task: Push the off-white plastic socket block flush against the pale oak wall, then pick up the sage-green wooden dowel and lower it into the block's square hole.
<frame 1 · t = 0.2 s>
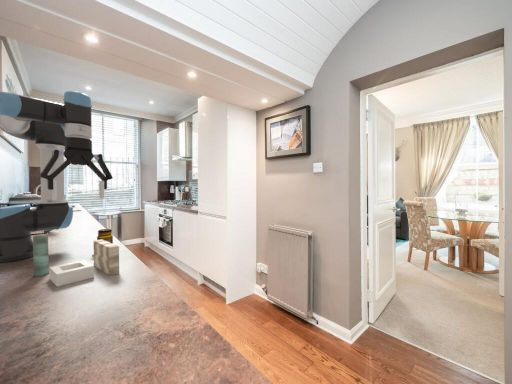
hand: (79, 199, 81), 27 cm above the countertop, tool pointing down, fingers open, 13 cm apart
socket block: (72, 277, 79), on the countertop
wall: (106, 269, 88), on the countertop
dowel: (41, 274, 83), on the countertop
condiment: (103, 256, 105), on the countertop
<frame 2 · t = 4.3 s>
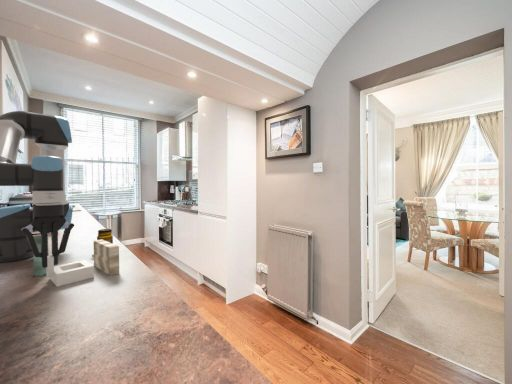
hand: (50, 276, 75), 2 cm above the countertop, tool pointing down, fingers closed
socket block: (72, 277, 79), on the countertop, touching gripper
everything else where it was.
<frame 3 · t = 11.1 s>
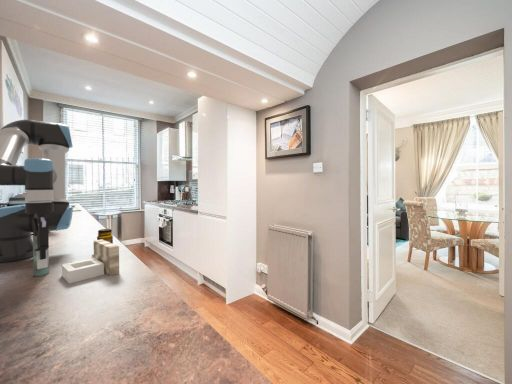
hand: (41, 266, 83), 3 cm above the countertop, tool pointing down, fingers closed on dowel, 4 cm apart
socket block: (83, 275, 82), on the countertop
dowel: (41, 274, 83), on the countertop, touching gripper
everything else where it was.
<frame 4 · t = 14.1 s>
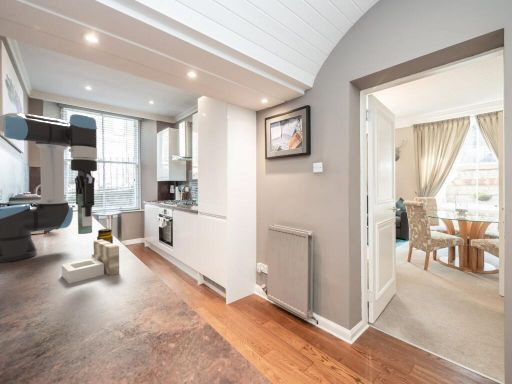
hand: (85, 225, 82), 18 cm above the countertop, tool pointing down, fingers closed on dowel, 4 cm apart
dowel: (85, 232, 82), point 15 cm above the countertop, touching gripper
everything else where it was.
when the fingers open (5 cm above the countertop, at t = 17.1 s): dowel drops 1 cm, resting in socket block.
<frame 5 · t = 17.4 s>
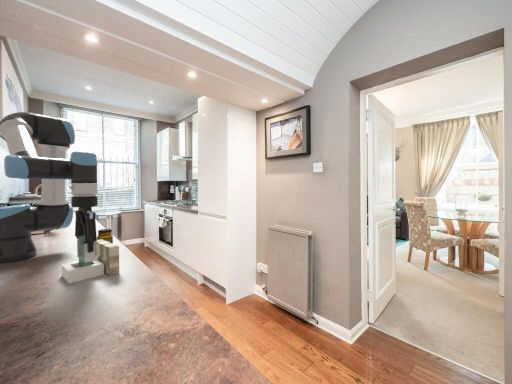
hand: (85, 258, 82), 6 cm above the countertop, tool pointing down, fingers open, 8 cm apart
dowel: (85, 274, 83), resting in socket block
everything else where it was.
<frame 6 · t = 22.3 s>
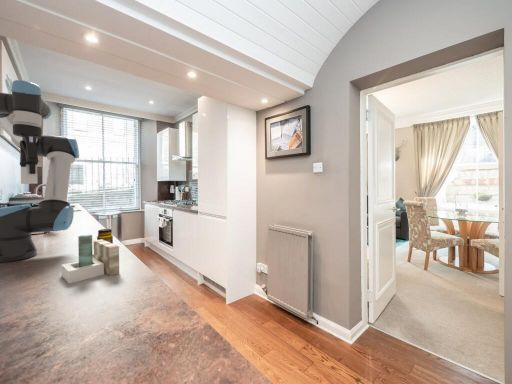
hand: (28, 183, 84), 33 cm above the countertop, tool pointing down, fingers open, 13 cm apart
nothing on the countertop moved.
at the end: socket block 0.9 cm from the target spot, on the countertop; dowel 0.9 cm off-centre on the socket block, point 0.0 cm above the socket block's base; dowel tilted 0° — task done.
